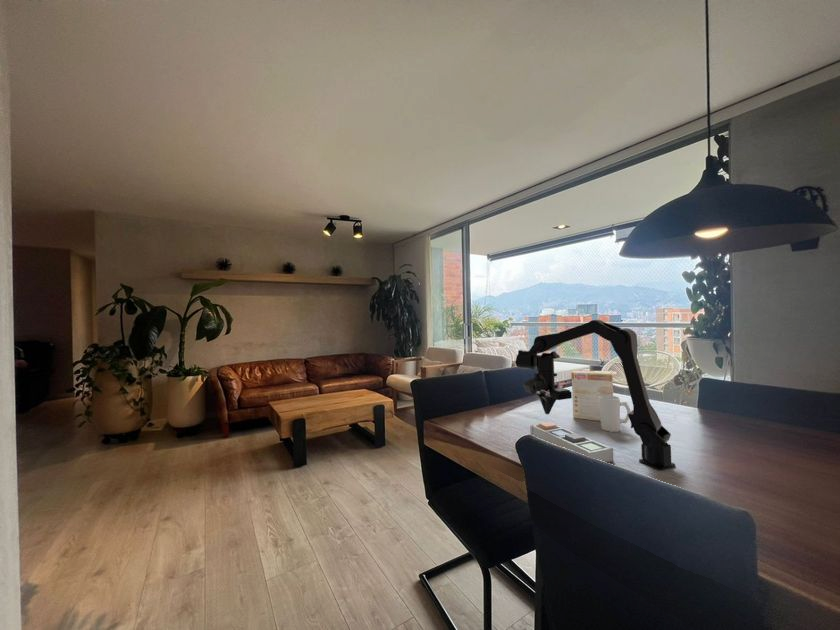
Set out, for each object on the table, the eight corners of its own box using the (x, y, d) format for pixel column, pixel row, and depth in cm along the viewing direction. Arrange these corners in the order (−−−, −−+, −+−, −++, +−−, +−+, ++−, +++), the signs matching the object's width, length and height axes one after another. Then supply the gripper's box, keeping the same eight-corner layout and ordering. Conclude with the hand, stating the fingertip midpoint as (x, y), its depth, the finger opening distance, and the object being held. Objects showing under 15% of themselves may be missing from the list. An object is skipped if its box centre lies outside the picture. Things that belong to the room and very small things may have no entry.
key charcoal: (585, 444, 109) (585, 436, 109) (574, 446, 108) (574, 438, 108) (575, 440, 113) (575, 432, 113) (565, 442, 112) (564, 434, 112)
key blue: (570, 441, 115) (570, 434, 115) (560, 443, 114) (559, 435, 114) (561, 437, 119) (561, 430, 119) (551, 438, 118) (551, 431, 118)
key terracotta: (556, 431, 121) (556, 424, 121) (546, 433, 120) (546, 426, 120) (548, 428, 125) (548, 421, 125) (538, 429, 124) (538, 423, 124)
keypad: (613, 461, 102) (613, 447, 102) (589, 466, 99) (589, 453, 99) (550, 432, 128) (550, 422, 128) (530, 436, 125) (530, 425, 125)
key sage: (602, 455, 103) (602, 447, 103) (591, 458, 101) (591, 450, 101) (591, 450, 107) (591, 443, 107) (580, 452, 105) (580, 445, 105)
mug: (599, 430, 128) (598, 398, 128) (600, 425, 134) (599, 394, 134) (631, 434, 123) (630, 401, 123) (630, 428, 129) (629, 396, 129)
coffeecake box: (614, 418, 142) (612, 371, 142) (613, 423, 136) (612, 373, 136) (575, 413, 150) (573, 369, 150) (572, 418, 144) (571, 371, 144)
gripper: (511, 368, 129) (512, 410, 129) (544, 376, 111) (546, 424, 111) (535, 366, 132) (537, 406, 132) (572, 373, 115) (573, 420, 115)
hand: (547, 414), depth 122 cm, fingers closed
